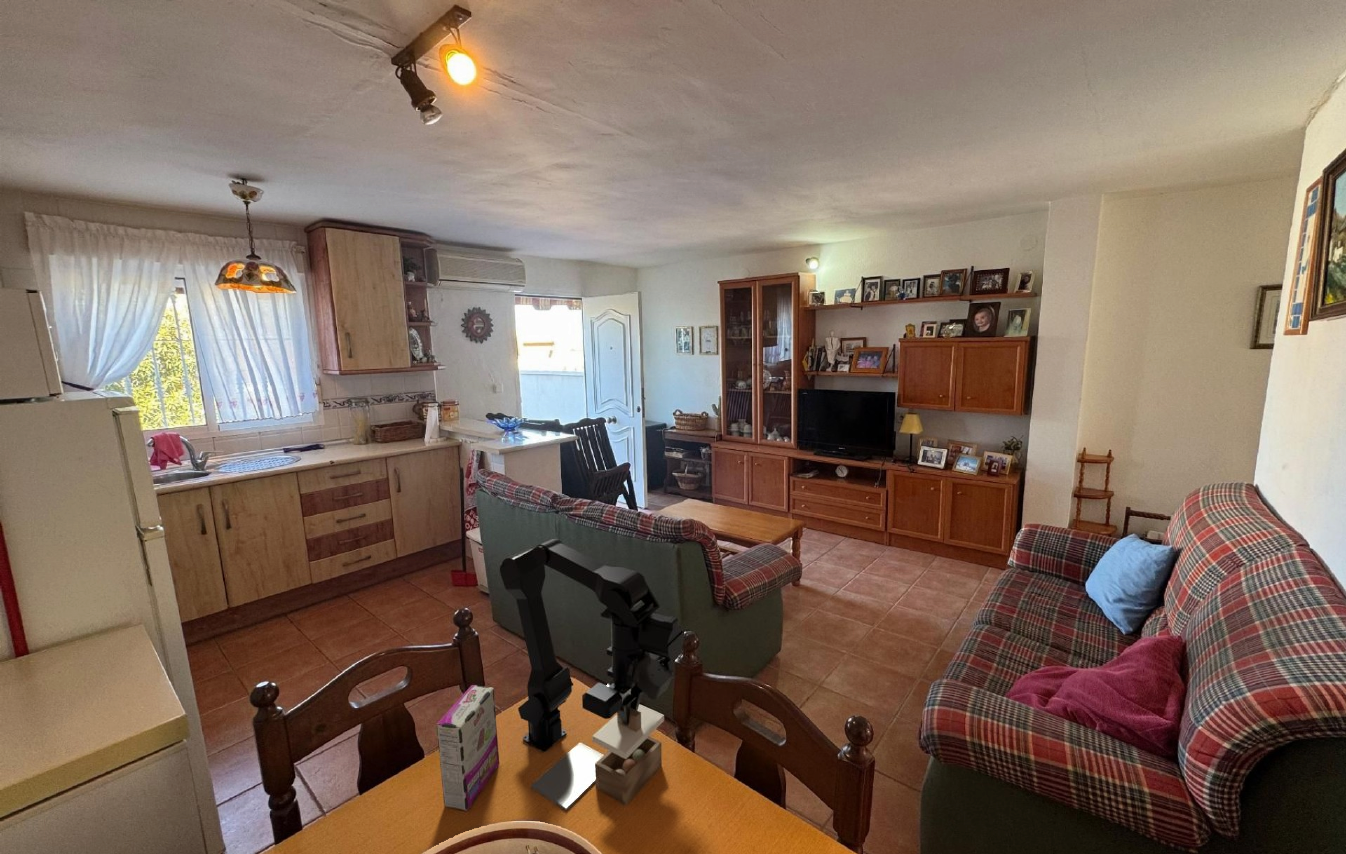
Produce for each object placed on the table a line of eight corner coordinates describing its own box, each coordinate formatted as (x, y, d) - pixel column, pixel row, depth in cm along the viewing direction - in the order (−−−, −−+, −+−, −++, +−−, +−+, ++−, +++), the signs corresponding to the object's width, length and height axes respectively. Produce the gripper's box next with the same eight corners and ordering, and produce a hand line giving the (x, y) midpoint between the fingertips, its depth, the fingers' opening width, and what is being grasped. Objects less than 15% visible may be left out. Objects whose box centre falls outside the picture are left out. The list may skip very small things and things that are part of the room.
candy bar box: (476, 760, 105) (471, 683, 103) (500, 764, 104) (495, 686, 102) (441, 808, 94) (434, 723, 92) (467, 813, 93) (461, 726, 91)
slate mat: (530, 787, 99) (530, 785, 98) (580, 744, 109) (580, 742, 109) (566, 810, 94) (566, 808, 94) (614, 763, 104) (614, 760, 104)
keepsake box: (625, 805, 95) (625, 780, 94) (595, 788, 98) (595, 763, 98) (661, 765, 104) (661, 742, 103) (632, 750, 108) (632, 728, 107)
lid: (626, 764, 93) (625, 737, 92) (592, 746, 97) (592, 720, 96) (664, 725, 102) (663, 700, 102) (632, 711, 107) (631, 686, 106)
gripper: (630, 684, 85) (632, 773, 87) (692, 632, 100) (692, 709, 103) (578, 662, 91) (581, 745, 93) (644, 616, 106) (645, 689, 109)
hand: (628, 721), depth 99 cm, fingers closed on lid
